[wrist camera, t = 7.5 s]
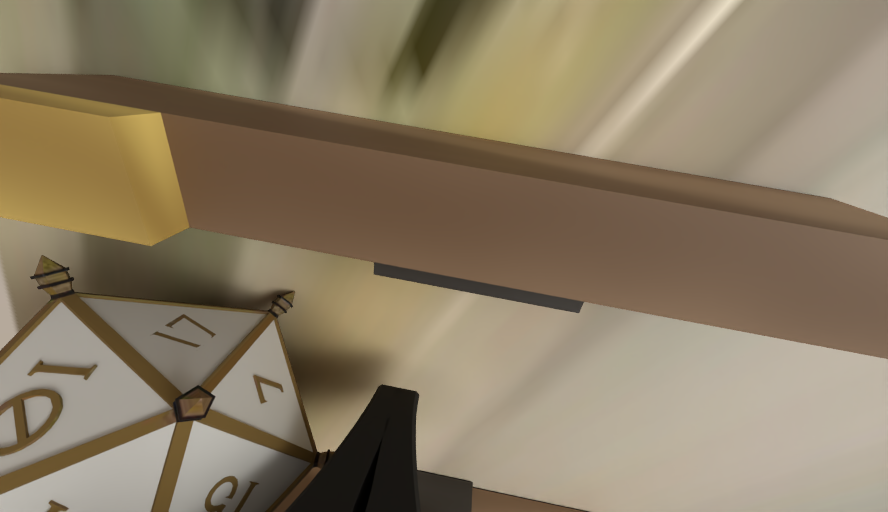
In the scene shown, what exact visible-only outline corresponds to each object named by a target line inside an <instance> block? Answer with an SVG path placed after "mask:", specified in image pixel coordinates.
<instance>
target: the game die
mask: <svg viewBox="0 0 888 512" xmlns="http://www.w3.org/2000/svg"><path fill="white" fill-rule="evenodd" d="M68 270H70V269H69V267H67V268H65V267H63V266H61V265H59V264H58V263H56V262H54V261H52V260H50V259H49V258H47V257H45V256H43V255H42V256H41V258H40V261H39V264H38V266H37V269H36V272H35V274H34V276H31V277H30V278H31V279H36V280H37V282H38V283H39V285H40V286H38V287H37V288H38V289H43V290H45V291H46V292H47V293H49V294H50V295H51V300H50V301H49V302H48V303H47V304H46V305H45V306H44V307H43V308H42V309H41V310H40V311H39V312H38V313H37V314H36V315H35V316H34V317H33V318H32V319H31V320H30V321H29V322H28V323H27V324H26V325H25V326H24V327H23V328H22V329H21V330H20V331H19V332H18V333H17V334H16V335H15V336H14V337H13V338H12V340H11V341H9V342H8V344H6V346H4V348H2V350H1V351H0V512H273V511H274V510H275V509H276V508H277V507H278V506H279V505H280V504H281V503H282V501H283V500H284V499H285V498H286V497H287V496H288V495H289V494H290V493H291V492H292V490H293V489H294V488H295V487H296V486H297V485H298V484H299V483H300V482H301V481H302V479H303V478H304V477H305V476H306V475H307V474H308V473H309V472H310V471H311V470H312V468H313V467H318V468H320V469H322V467H323V466H324V465H325V464H326V462H327V461H328V460H329V459H330V457H331V456H332V455H333V454H334V452H331V451H330V450H328V451H327V452H322V453H319V452H317V449H316V445H315V442H314V439H313V436H312V432H311V429H310V426H309V422H308V419H307V416H306V413H305V409H304V406H303V403H302V399H301V396H300V393H299V389H298V386H297V383H296V380H295V376H294V373H293V370H292V366H291V363H290V360H289V357H288V353H287V350H286V347H285V343H284V340H283V337H282V333H281V330H280V327H279V324H278V320H277V318H278V316H279V315H281V314H283V313H284V312H285V313H287V310H288V309H289V308H290V307H291V308H292V307H293V306H292V302H293V298H294V293H295V291H294V292H291V293H288V294H284V295H281V296H280V295H278V296H277V297H278V298H277V299H276V300H275V302H274V301H272V303H273V304H272V306H271V308H270V309H269V310H268V311H264V310H253V309H243V308H233V307H223V306H212V305H202V304H192V303H181V302H171V301H161V300H150V299H140V298H130V297H119V296H109V295H99V294H88V293H78V292H74V290H73V289H72V281H73V280H74V278H73V277H71V278H70V276H69V274H68V272H67V271H68Z"/></svg>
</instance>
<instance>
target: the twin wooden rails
mask: <svg viewBox="0 0 888 512" xmlns="http://www.w3.org/2000/svg"><path fill="white" fill-rule="evenodd" d="M0 217H2V218H8V219H13V220H18V221H23V222H28V223H34V224H39V225H44V226H49V227H55V228H60V229H65V230H70V231H75V232H81V233H86V234H91V235H96V236H102V237H107V238H112V239H117V240H122V241H128V242H133V243H138V244H143V245H149V246H152V245H154V244H156V243H158V242H160V241H162V240H164V239H166V238H168V237H171V236H173V235H175V234H177V233H179V232H181V231H183V230H185V229H187V228H189V227H191V228H196V229H201V230H207V231H212V232H217V233H222V234H228V235H233V236H238V237H244V238H249V239H254V240H260V241H265V242H270V243H276V244H281V245H286V246H291V247H297V248H302V249H307V250H313V251H318V252H323V253H329V254H334V255H339V256H345V257H350V258H355V259H360V260H366V261H371V262H374V274H375V275H380V276H386V277H391V278H396V279H401V280H407V281H412V282H417V283H422V284H428V285H433V286H438V287H444V288H449V289H454V290H459V291H465V292H470V293H475V294H480V295H486V296H491V297H496V298H501V299H507V300H512V301H517V302H523V303H528V304H533V305H538V306H544V307H549V308H554V309H559V310H565V311H570V312H575V313H579V312H580V309H581V307H582V305H583V303H584V302H589V303H594V304H599V305H605V306H610V307H615V308H620V309H626V310H631V311H636V312H642V313H647V314H652V315H658V316H663V317H668V318H674V319H679V320H684V321H689V322H695V323H700V324H705V325H711V326H716V327H721V328H727V329H732V330H737V331H742V332H748V333H753V334H758V335H764V336H769V337H774V338H780V339H785V340H790V341H796V342H801V343H806V344H811V345H817V346H822V347H827V348H833V349H838V350H843V351H849V352H854V353H859V354H865V355H870V356H875V357H880V358H886V359H888V218H887V217H884V216H881V215H878V214H875V213H872V212H869V211H866V210H863V209H860V208H857V207H855V206H852V205H849V204H846V203H843V202H840V201H837V200H834V199H831V198H825V197H820V196H814V195H808V194H802V193H796V192H790V191H785V190H779V189H773V188H767V187H761V186H755V185H750V184H744V183H738V182H732V181H726V180H721V179H715V178H709V177H703V176H697V175H691V174H686V173H680V172H674V171H668V170H662V169H656V168H651V167H645V166H639V165H633V164H627V163H621V162H616V161H610V160H604V159H598V158H592V157H586V156H581V155H575V154H569V153H563V152H557V151H552V150H546V149H540V148H534V147H528V146H522V145H517V144H511V143H505V142H499V141H493V140H487V139H482V138H476V137H470V136H464V135H458V134H452V133H447V132H441V131H435V130H429V129H423V128H418V127H412V126H406V125H400V124H394V123H388V122H383V121H377V120H371V119H365V118H359V117H353V116H348V115H342V114H336V113H330V112H324V111H318V110H313V109H307V108H301V107H295V106H289V105H283V104H278V103H272V102H266V101H260V100H254V99H249V98H243V97H237V96H231V95H225V94H219V93H214V92H208V91H202V90H196V89H190V88H184V87H179V86H173V85H167V84H161V83H155V82H149V81H144V80H138V79H132V78H126V77H120V76H114V75H75V74H22V73H0ZM320 470H321V469H320V468H318V467H313V468H312V470H311V471H310V472H309V473H308V474H307V475H306V476H305V477H304V478H303V479H302V481H301V482H300V483H299V484H298V485H297V486H296V487H295V488H294V489H293V490H292V492H291V493H290V494H289V495H288V496H287V497H286V498H285V499H284V500H283V501H282V503H281V504H280V505H279V506H278V507H277V508H276V509H275V510H274V511H273V512H285V510H286V509H287V508H288V507H289V506H290V505H291V504H292V503H293V502H294V501H295V499H296V498H297V497H298V496H299V495H300V494H301V493H302V491H303V490H304V489H305V488H306V487H307V486H308V484H309V483H310V482H311V481H312V480H313V478H314V477H315V476H316V475H317V473H318V472H319V471H320ZM417 478H418V489H419V499H420V509H421V512H584V511H580V510H575V509H570V508H566V507H561V506H556V505H552V504H547V503H542V502H537V501H533V500H528V499H523V498H519V497H514V496H509V495H505V494H500V493H495V492H490V491H486V490H481V489H476V488H472V486H473V482H468V481H463V480H459V479H454V478H449V477H444V476H440V475H435V474H430V473H426V472H421V471H417Z"/></svg>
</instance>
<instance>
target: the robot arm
mask: <svg viewBox="0 0 888 512" xmlns="http://www.w3.org/2000/svg"><path fill="white" fill-rule="evenodd" d="M418 399H419V394H418V393H417V392H416V391H412V390H407V389H402V388H397V387H392V386H388V385H383V384H382V385H380V386H379V387H378V389H377V390H376V392H375V394H374V396H373V398H372V399H371V401H370V403H369V404H368V406H367V407H366V409H365V410H364V412H363V414H362V415H361V416H360V418H359V419H358V421H357V422H356V424H355V425H354V427H353V428H352V429H351V431H350V432H349V434H348V435H347V436H346V438H345V439H344V440H343V442H342V443H341V444H340V446H339V447H338V449H337V450H336V451H335V452H334V454H333V455H332V456H331V457H330V459H329V460H328V461H327V462H326V464H325V465H324V466H323V467H322V469H321V470H320V471H319V472H318V473H317V475H316V476H315V477H314V478H313V480H312V481H311V482H310V483H309V484H308V486H307V487H306V488H305V489H304V490H303V491H302V493H301V494H300V495H299V496H298V497H297V498H296V499H295V501H294V502H293V503H292V504H291V505H290V506H289V507H288V508H287V509H286V510H285V512H421V509H420V499H419V489H418V478H417V461H416V413H417V405H418Z"/></svg>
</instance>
